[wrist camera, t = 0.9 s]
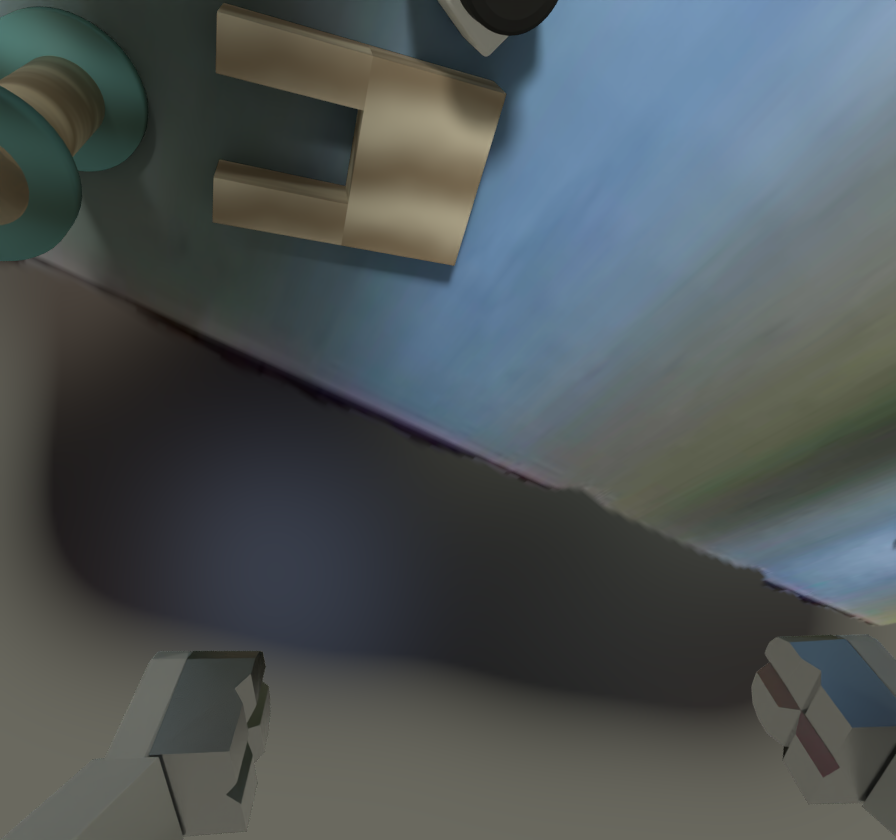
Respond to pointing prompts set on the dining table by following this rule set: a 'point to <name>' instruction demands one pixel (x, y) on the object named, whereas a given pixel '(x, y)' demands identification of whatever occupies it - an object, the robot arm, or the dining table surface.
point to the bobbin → (59, 121)
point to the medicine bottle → (495, 19)
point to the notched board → (361, 141)
